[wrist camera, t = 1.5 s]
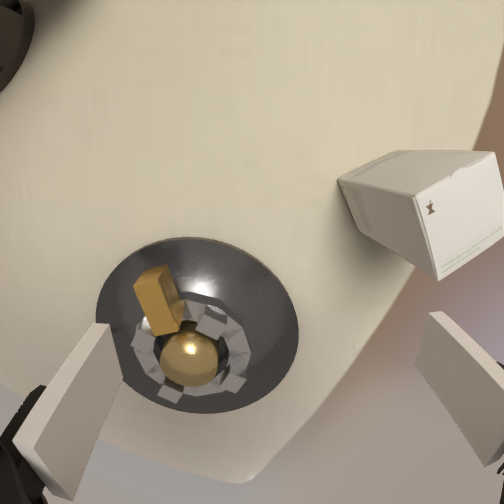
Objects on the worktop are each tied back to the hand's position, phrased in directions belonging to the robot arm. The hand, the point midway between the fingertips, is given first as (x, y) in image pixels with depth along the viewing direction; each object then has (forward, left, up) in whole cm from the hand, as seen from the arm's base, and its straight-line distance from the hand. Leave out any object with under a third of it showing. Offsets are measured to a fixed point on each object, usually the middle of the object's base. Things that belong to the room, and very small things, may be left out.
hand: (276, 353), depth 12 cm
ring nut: (-4, -13, -20) cm, 24 cm away
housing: (-3, -14, -22) cm, 26 cm away
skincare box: (+12, +8, -22) cm, 26 cm away
